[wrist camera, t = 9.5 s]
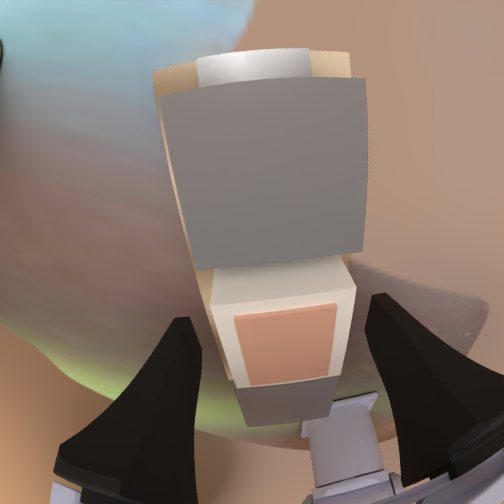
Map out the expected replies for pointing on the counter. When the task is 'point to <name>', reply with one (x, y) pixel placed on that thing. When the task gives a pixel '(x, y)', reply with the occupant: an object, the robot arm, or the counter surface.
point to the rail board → (267, 178)
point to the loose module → (284, 319)
